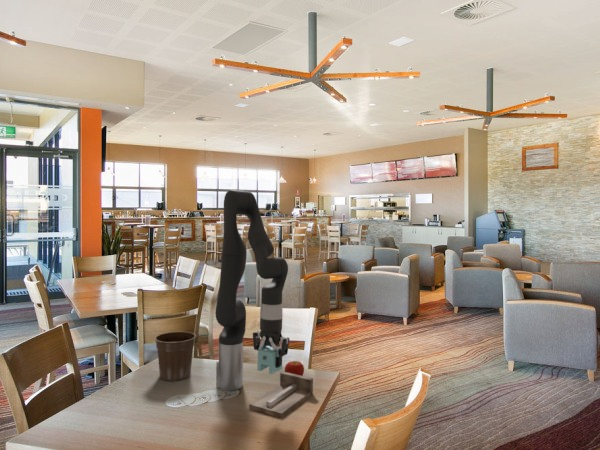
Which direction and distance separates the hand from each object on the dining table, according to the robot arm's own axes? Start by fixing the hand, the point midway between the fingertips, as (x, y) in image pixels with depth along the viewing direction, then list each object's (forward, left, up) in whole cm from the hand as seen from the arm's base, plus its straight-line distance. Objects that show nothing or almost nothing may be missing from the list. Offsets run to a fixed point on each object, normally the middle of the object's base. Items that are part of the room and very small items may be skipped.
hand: (270, 364), depth 150 cm
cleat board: (0, +8, -15) cm, 17 cm away
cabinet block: (0, 0, -2) cm, 2 cm away
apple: (-6, +27, -15) cm, 31 cm away
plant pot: (-50, +6, -15) cm, 52 cm away
